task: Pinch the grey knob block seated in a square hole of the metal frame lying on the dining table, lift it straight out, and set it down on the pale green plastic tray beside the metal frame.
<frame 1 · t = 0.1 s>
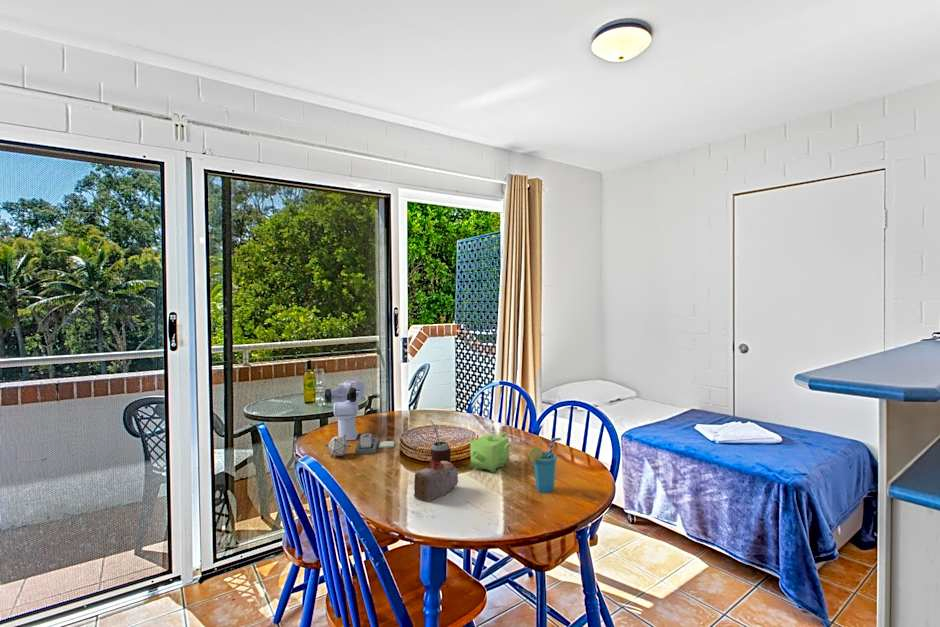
hand: (337, 398, 191), 22 cm above the table, tool horizontal, fingers open, 7 cm apart
mate gourd: (440, 466, 175), on the table
grey knob block: (366, 450, 194), resting in metal frame
metal frame: (367, 447, 197), on the table
game die: (338, 456, 188), on the table
tray: (386, 444, 200), on the table
cup: (547, 489, 153), on the table
food item: (436, 494, 152), on the table
green knobbed block: (492, 467, 172), on the table
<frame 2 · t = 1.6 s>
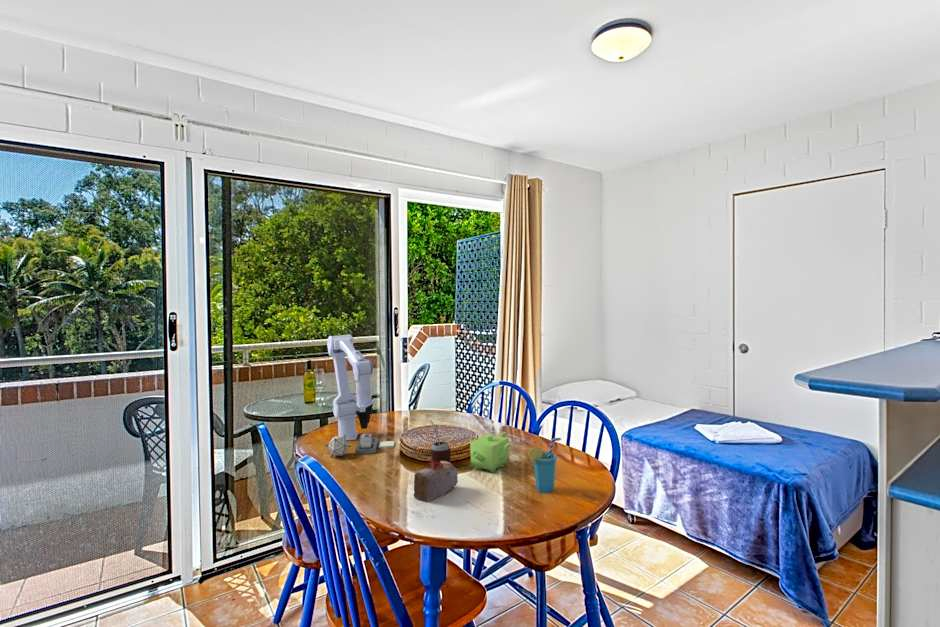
hand: (365, 425, 193), 10 cm above the table, tool pointing down, fingers open, 7 cm apart
nothing on the table moved.
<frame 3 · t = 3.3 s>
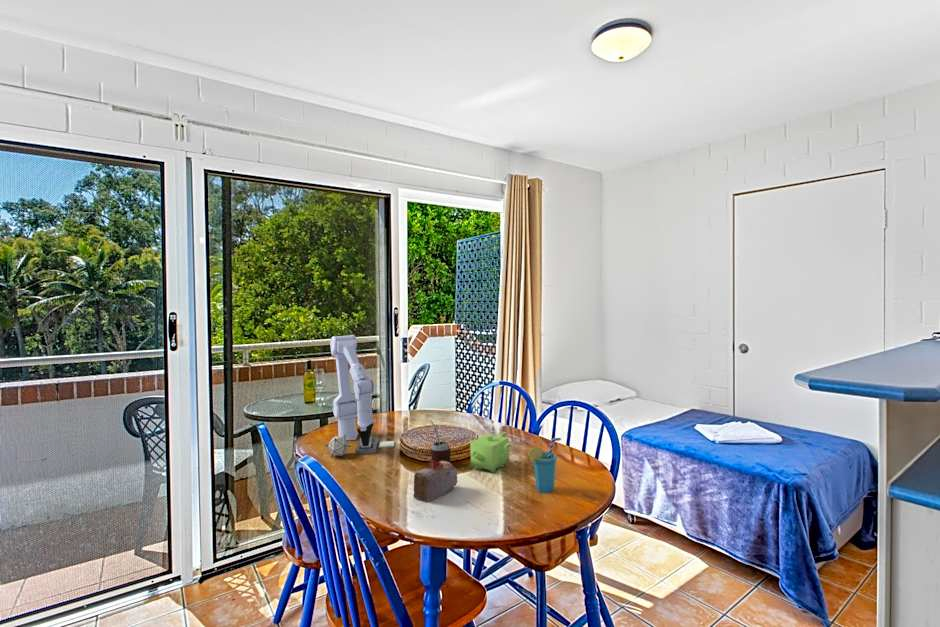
hand: (366, 443, 194), 3 cm above the table, tool pointing down, fingers closed on grey knob block, 4 cm apart
grey knob block: (366, 450, 194), resting in metal frame, touching gripper
everything else where it was.
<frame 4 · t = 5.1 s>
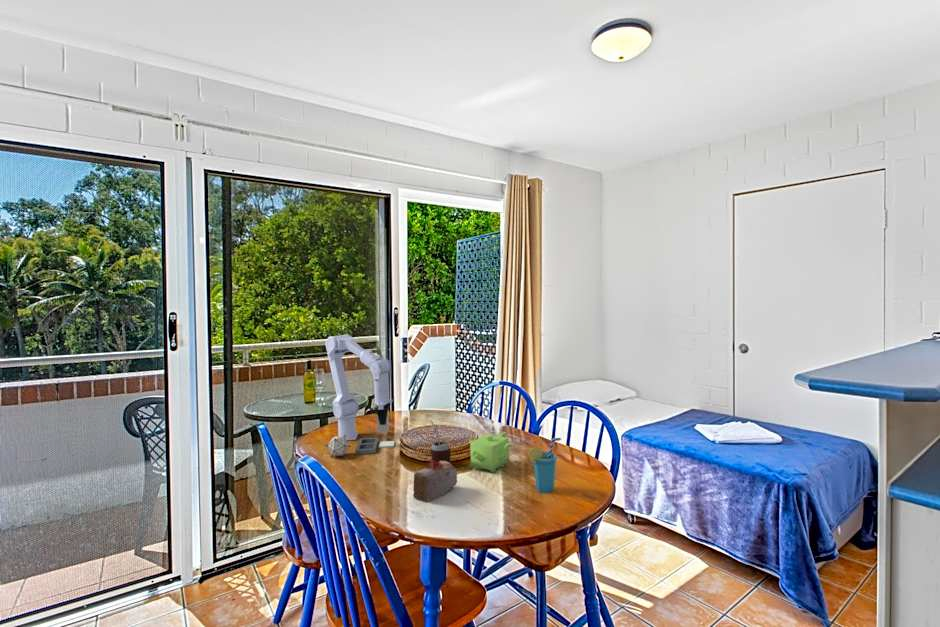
hand: (383, 423, 199), 9 cm above the table, tool pointing down, fingers closed on grey knob block, 4 cm apart
grey knob block: (383, 430, 199), point 6 cm above the table, touching gripper
everything else where it was.
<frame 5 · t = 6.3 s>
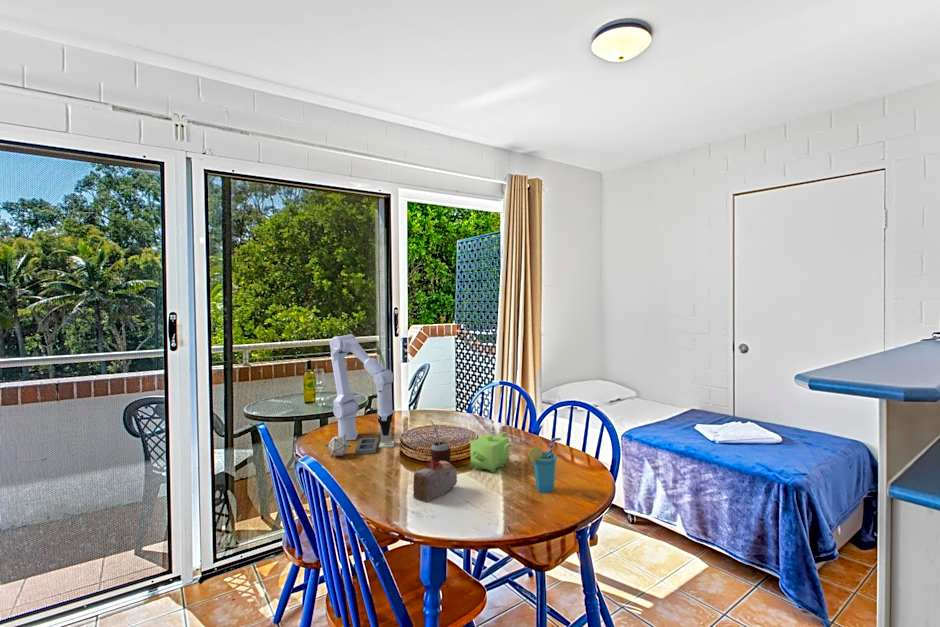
hand: (386, 433, 200), 5 cm above the table, tool pointing down, fingers closed on grey knob block, 4 cm apart
grey knob block: (386, 441, 200), point 2 cm above the table, touching gripper
everything else where it was.
when the fingers open (5 cm above the table, at t = 6.9 s): grey knob block drops 1 cm, resting on tray.
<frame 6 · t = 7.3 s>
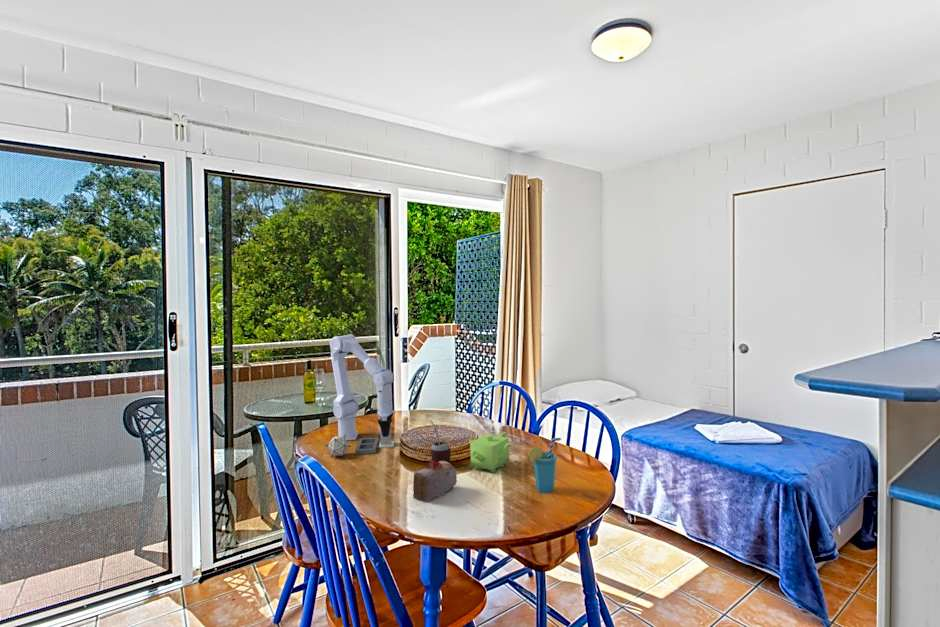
hand: (386, 433, 200), 5 cm above the table, tool pointing down, fingers open, 7 cm apart
grey knob block: (386, 443, 200), resting on tray
everything else where it was.
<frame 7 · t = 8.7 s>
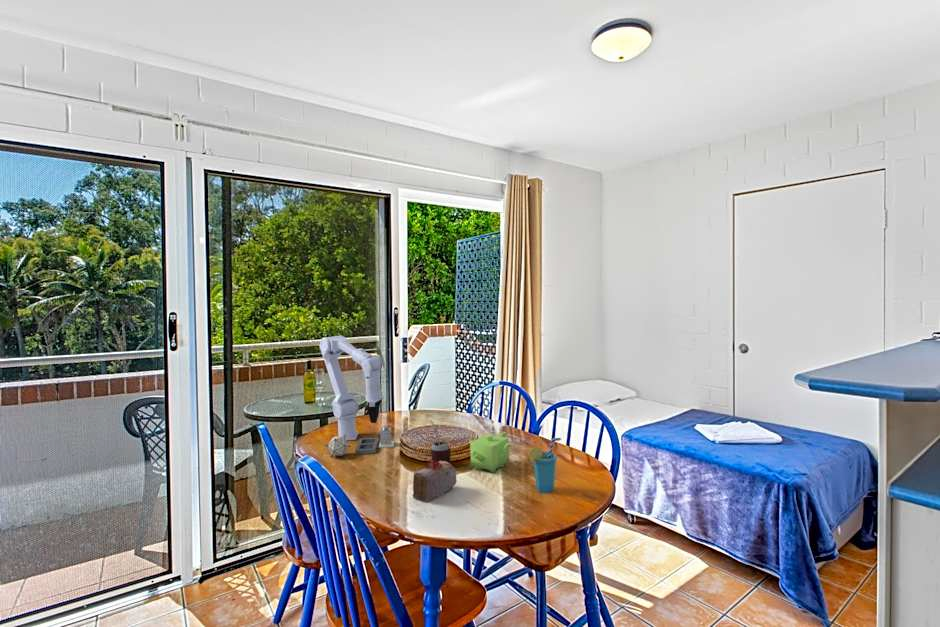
hand: (374, 420, 200), 10 cm above the table, tool pointing down, fingers open, 7 cm apart
nothing on the table moved.
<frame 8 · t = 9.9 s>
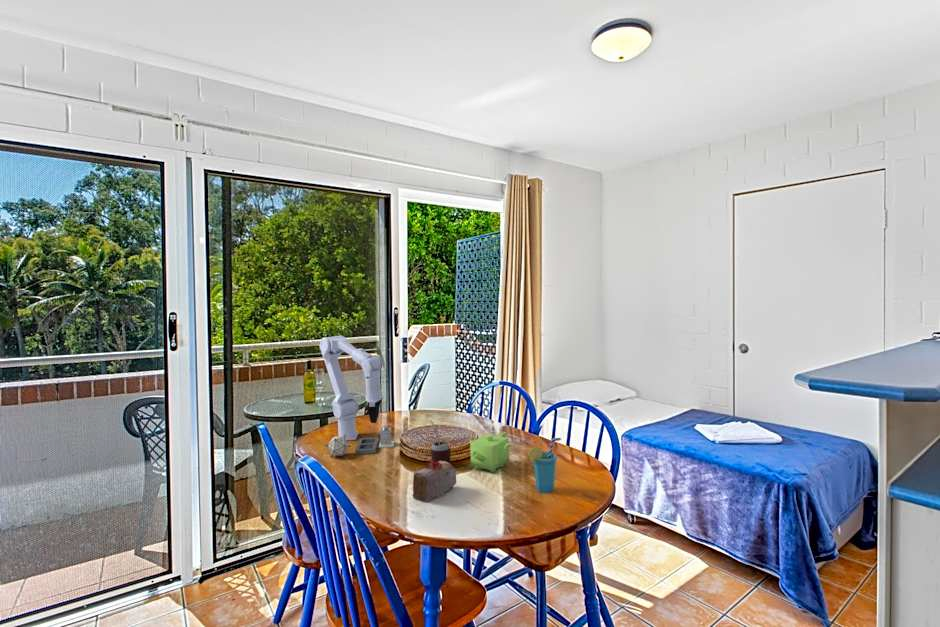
hand: (374, 420, 200), 10 cm above the table, tool pointing down, fingers open, 7 cm apart
nothing on the table moved.
at the end: grey knob block inside the target area on the tray (0.2 cm from its centre), point 0.5 cm above the tray's base; grey knob block tilted 0°; the gripper is holding nothing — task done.
